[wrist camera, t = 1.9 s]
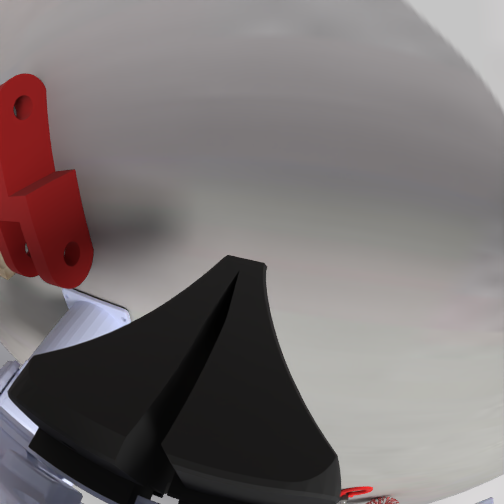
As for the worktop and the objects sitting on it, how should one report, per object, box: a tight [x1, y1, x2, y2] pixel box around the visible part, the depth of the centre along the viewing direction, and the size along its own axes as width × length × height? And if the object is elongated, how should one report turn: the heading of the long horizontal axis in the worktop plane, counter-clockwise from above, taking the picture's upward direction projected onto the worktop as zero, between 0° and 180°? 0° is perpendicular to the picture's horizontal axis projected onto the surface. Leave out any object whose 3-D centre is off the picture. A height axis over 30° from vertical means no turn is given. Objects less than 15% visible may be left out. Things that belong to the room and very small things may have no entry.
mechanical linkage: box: [0, 74, 94, 289], centre depth 15 cm, size 16×7×5 cm, turn 0°
